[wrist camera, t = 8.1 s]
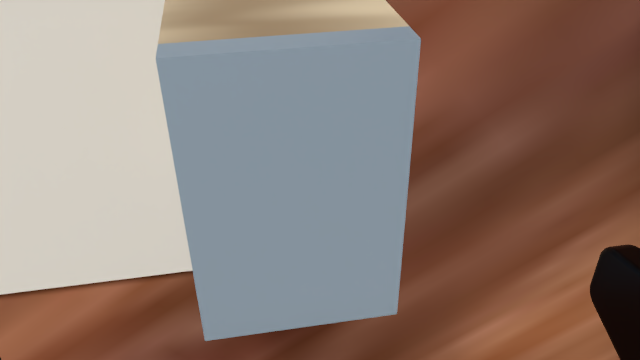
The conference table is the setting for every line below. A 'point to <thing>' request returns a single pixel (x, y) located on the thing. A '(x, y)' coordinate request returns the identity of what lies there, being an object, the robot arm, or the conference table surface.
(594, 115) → the conference table surface
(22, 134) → the mat
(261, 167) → the maple block
